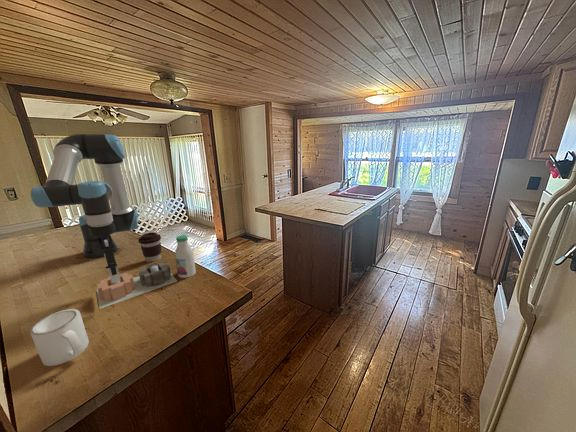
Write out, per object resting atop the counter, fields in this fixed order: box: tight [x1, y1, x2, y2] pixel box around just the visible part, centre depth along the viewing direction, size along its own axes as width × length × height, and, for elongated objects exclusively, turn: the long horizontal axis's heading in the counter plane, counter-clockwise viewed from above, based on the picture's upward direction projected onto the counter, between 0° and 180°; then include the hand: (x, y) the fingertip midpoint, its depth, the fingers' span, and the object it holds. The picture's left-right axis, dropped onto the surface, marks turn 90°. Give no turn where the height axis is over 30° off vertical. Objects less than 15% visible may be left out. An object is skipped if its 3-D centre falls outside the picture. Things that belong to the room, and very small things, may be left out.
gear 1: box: [96, 272, 135, 302], centre depth 92 cm, size 11×11×5 cm
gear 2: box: [138, 261, 172, 287], centre depth 101 cm, size 11×11×5 cm
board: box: [96, 266, 178, 310], centre depth 97 cm, size 16×27×8 cm, turn 132°
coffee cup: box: [137, 231, 162, 263], centre depth 119 cm, size 10×10×15 cm
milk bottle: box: [174, 234, 197, 279], centre depth 104 cm, size 8×8×20 cm
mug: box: [29, 308, 90, 367], centre depth 66 cm, size 14×10×11 cm
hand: (113, 273), depth 91 cm, fingers open, 13 cm apart
